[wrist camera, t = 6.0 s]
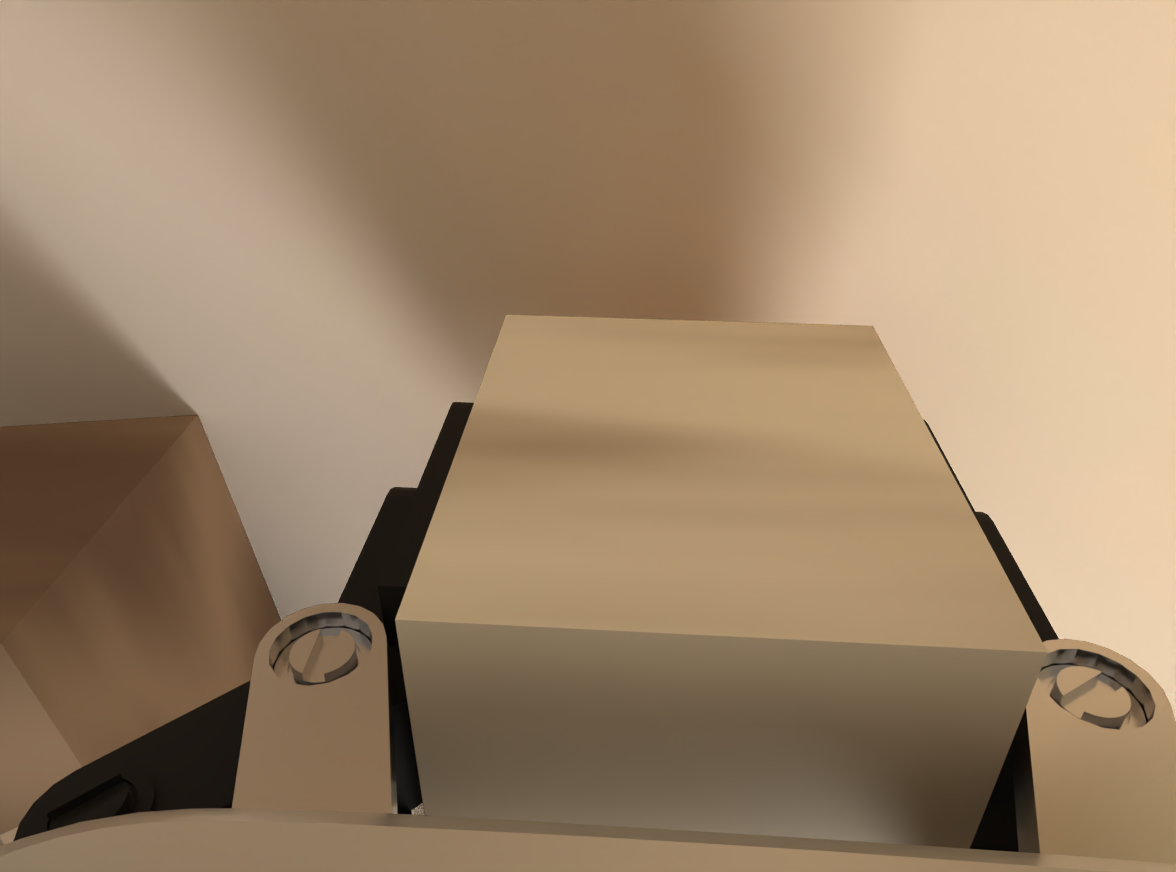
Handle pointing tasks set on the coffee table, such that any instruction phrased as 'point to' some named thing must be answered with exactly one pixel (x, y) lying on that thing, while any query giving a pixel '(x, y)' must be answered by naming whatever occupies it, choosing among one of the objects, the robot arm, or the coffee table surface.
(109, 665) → the walnut block
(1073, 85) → the coffee table surface
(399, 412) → the coffee table surface
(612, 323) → the birch block
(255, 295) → the coffee table surface
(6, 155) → the coffee table surface
